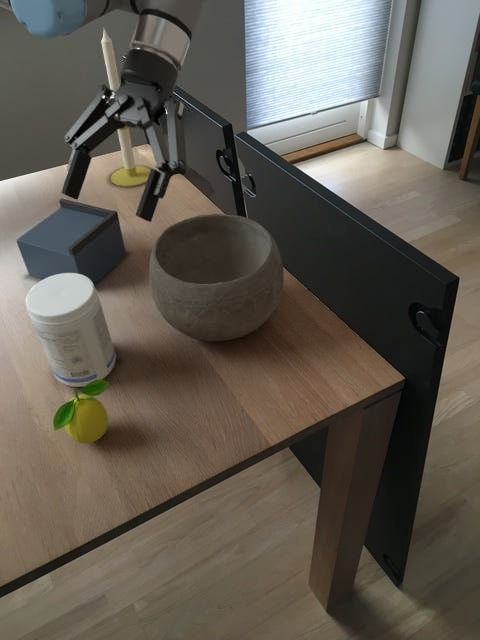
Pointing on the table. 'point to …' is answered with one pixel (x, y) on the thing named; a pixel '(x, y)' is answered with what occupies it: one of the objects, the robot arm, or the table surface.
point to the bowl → (216, 276)
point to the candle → (131, 172)
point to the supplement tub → (71, 328)
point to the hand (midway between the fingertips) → (104, 207)
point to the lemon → (84, 414)
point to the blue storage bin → (73, 242)
